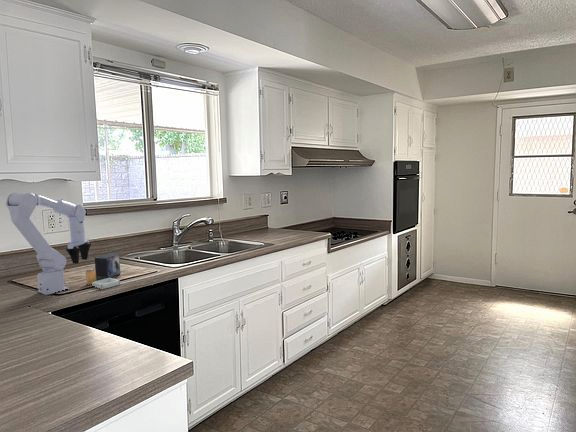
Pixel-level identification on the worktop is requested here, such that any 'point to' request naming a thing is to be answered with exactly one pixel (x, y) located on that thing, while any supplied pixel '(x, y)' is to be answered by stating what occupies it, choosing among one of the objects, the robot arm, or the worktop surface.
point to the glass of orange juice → (90, 276)
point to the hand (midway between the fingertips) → (80, 261)
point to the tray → (106, 283)
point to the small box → (107, 266)
